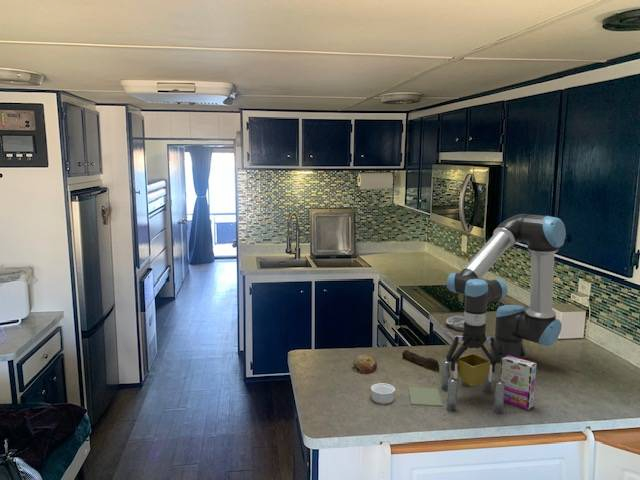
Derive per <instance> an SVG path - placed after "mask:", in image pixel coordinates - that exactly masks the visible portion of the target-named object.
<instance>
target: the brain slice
mask: <svg viewBox="0 0 640 480" xmlns="http://www.w3.org/2000/svg"><path fill="white" fill-rule="evenodd" d="M464 322H465V321H464V316H462V315H451V316H449V317H448V316H447V318H446V320H445V323H446V324H447V326H449V327H450V328H451V329H454V330H456V331H459V332H463V331H464Z"/></svg>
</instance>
